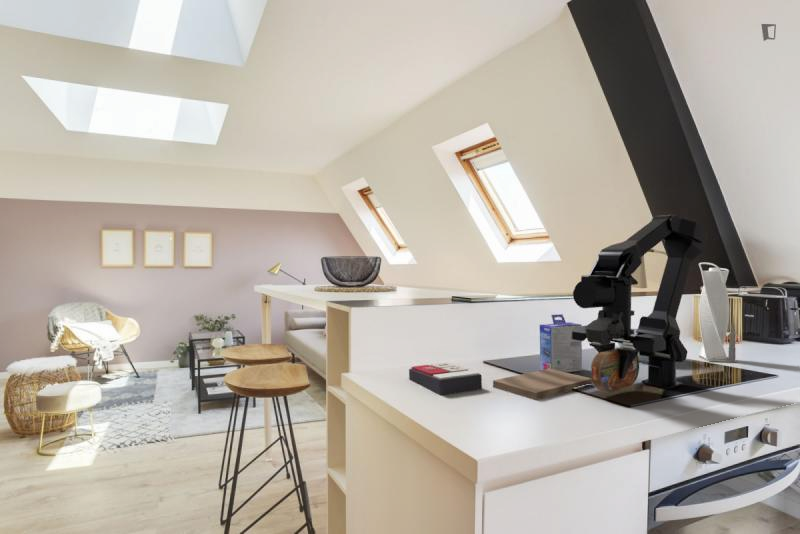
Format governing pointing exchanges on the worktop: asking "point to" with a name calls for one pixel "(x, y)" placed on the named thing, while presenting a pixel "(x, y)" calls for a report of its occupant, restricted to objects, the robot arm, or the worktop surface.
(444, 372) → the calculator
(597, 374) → the tin
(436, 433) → the worktop surface
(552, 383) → the walnut board
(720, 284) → the skyscraper
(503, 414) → the worktop surface
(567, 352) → the ink cartridge box
